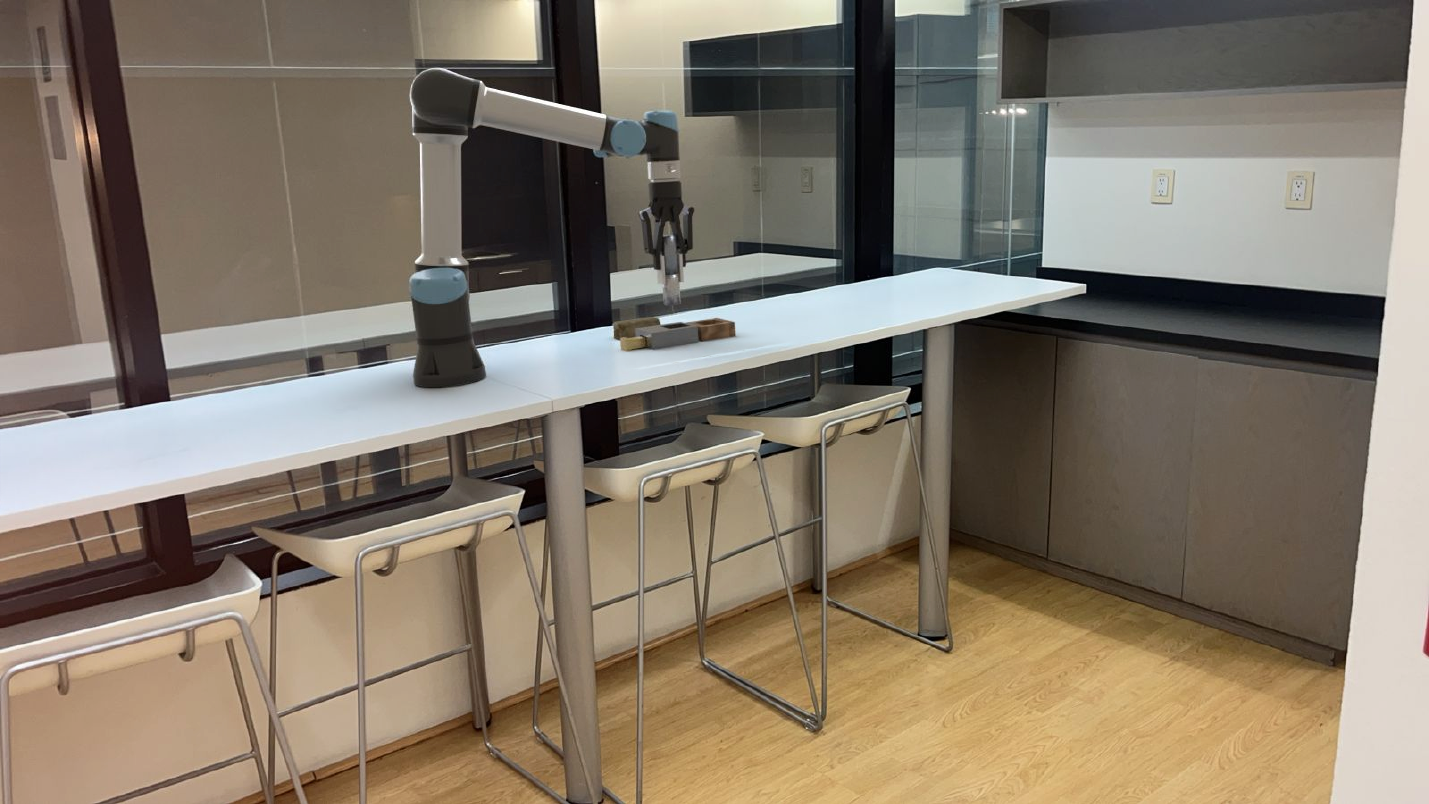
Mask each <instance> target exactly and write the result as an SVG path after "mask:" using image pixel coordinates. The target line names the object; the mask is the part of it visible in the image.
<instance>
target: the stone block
mask: <svg viewBox="0 0 1429 804" xmlns="http://www.w3.org/2000/svg"><path fill="white" fill-rule="evenodd" d="M656 325H661V321H660V318H659V317H655V316H650V317H649V316H646V317H640V318H639V317H638V318H631V319H625V320H617V321H613V325H612V326H613V339H615V340H618V341H620V338H623V337H626V338H633V337H636V334H635V329H636V328H643V327H649V326H656Z"/></svg>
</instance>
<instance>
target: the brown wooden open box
mask: <svg viewBox="0 0 1429 804" xmlns="http://www.w3.org/2000/svg"><path fill="white" fill-rule="evenodd" d="M685 323H687V324H691V325H695V326H698V341H699V342H708V341H715V340H721V339H729V338H734V337H736V322H735V321H733V320H727V319H723V318H720V317H719V318H718V317H714V318H708V319H707V318H706V319H701V320H695V321H688V322H685Z"/></svg>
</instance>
